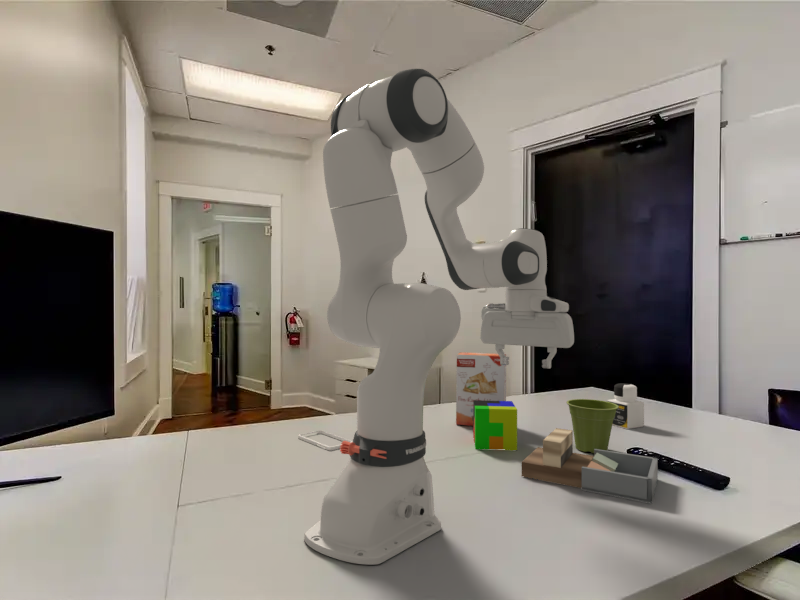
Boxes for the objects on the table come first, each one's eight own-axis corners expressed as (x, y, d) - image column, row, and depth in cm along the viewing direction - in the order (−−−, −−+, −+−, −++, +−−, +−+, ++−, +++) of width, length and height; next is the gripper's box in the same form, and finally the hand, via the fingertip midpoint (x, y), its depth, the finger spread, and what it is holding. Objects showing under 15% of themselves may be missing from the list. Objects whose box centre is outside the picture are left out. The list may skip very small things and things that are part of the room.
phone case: (353, 446, 122) (320, 434, 133) (353, 441, 122) (320, 429, 133) (329, 452, 117) (297, 439, 128) (329, 447, 117) (297, 434, 128)
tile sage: (611, 478, 97) (615, 469, 97) (589, 466, 99) (593, 458, 99) (614, 471, 101) (618, 463, 101) (593, 460, 103) (596, 452, 103)
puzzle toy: (511, 439, 127) (511, 401, 127) (517, 450, 117) (517, 409, 117) (473, 438, 128) (473, 400, 128) (475, 449, 118) (475, 408, 118)
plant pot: (603, 460, 110) (603, 411, 110) (556, 448, 119) (556, 402, 119) (627, 450, 117) (627, 404, 117) (582, 439, 126) (582, 396, 127)
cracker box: (455, 425, 141) (455, 353, 141) (459, 420, 147) (459, 351, 147) (504, 429, 137) (504, 355, 137) (506, 424, 143) (506, 353, 143)
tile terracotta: (606, 488, 92) (610, 479, 91) (583, 476, 94) (587, 467, 94) (610, 481, 96) (614, 472, 95) (587, 469, 98) (591, 460, 97)
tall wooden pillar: (560, 468, 96) (560, 442, 96) (542, 464, 98) (542, 440, 98) (572, 453, 106) (572, 430, 106) (556, 450, 107) (556, 428, 107)
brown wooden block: (582, 488, 94) (582, 472, 94) (521, 476, 100) (521, 461, 100) (593, 470, 104) (593, 456, 104) (537, 460, 110) (537, 447, 110)
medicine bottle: (606, 423, 143) (606, 383, 143) (623, 421, 146) (623, 381, 146) (627, 429, 137) (627, 387, 137) (644, 426, 140) (644, 385, 140)
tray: (652, 503, 86) (652, 479, 86) (581, 490, 93) (581, 467, 93) (657, 479, 98) (657, 458, 98) (594, 468, 105) (594, 448, 105)
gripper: (476, 303, 110) (475, 364, 110) (569, 303, 99) (568, 371, 99) (487, 303, 115) (486, 361, 115) (576, 304, 104) (575, 368, 104)
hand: (525, 366), depth 107 cm, fingers open, 8 cm apart
